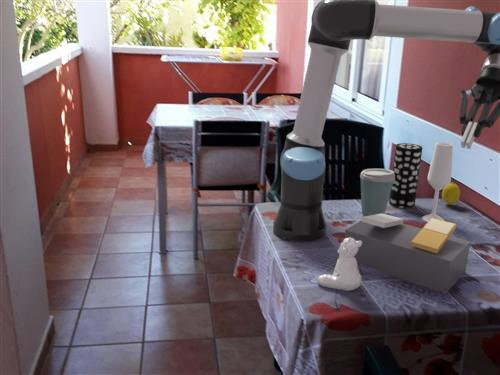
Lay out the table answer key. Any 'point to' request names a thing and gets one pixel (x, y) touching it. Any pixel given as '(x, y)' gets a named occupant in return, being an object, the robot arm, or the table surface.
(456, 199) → the lemon
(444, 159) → the champagne flute
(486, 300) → the table surface
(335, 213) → the table surface
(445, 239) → the amber rocker
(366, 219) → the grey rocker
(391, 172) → the disposable coffee cup
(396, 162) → the spotted tube
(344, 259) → the white creature statuette
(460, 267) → the switch box
